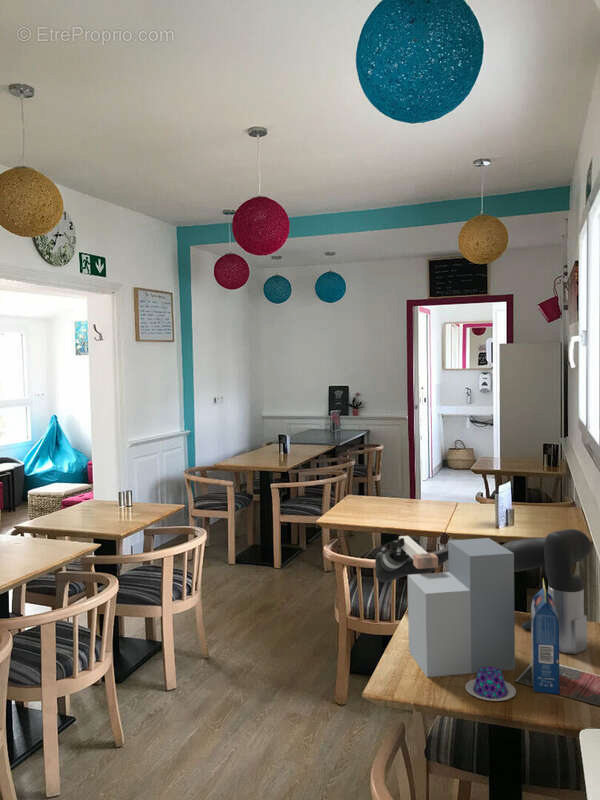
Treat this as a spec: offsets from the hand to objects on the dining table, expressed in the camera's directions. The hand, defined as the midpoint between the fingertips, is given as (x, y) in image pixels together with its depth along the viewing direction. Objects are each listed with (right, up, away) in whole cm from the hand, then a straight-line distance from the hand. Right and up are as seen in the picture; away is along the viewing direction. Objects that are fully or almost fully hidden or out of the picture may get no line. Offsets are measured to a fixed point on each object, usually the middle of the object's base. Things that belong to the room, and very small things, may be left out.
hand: (408, 540), depth 209 cm
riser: (+10, -28, -24) cm, 38 cm away
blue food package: (+28, -28, -38) cm, 55 cm away
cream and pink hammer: (+1, -3, -6) cm, 7 cm away
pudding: (+14, -29, -41) cm, 52 cm away
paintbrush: (+43, -26, -2) cm, 50 cm away
